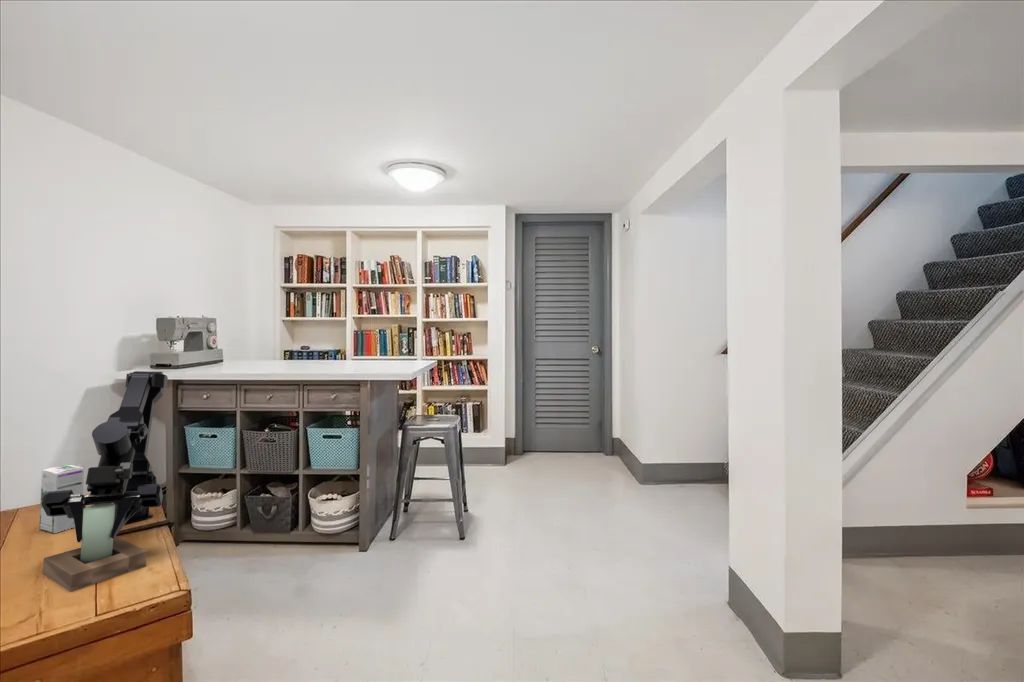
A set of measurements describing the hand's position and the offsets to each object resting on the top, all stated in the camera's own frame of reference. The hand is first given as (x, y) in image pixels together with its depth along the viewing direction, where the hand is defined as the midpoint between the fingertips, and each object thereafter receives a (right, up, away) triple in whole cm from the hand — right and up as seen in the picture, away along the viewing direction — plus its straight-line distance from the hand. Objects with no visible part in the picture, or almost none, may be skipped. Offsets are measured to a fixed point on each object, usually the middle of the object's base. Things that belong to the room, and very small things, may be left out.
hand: (95, 539), depth 93 cm
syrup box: (-26, -6, +20) cm, 33 cm away
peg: (-1, -7, +1) cm, 7 cm away
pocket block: (-1, -7, +1) cm, 7 cm away
